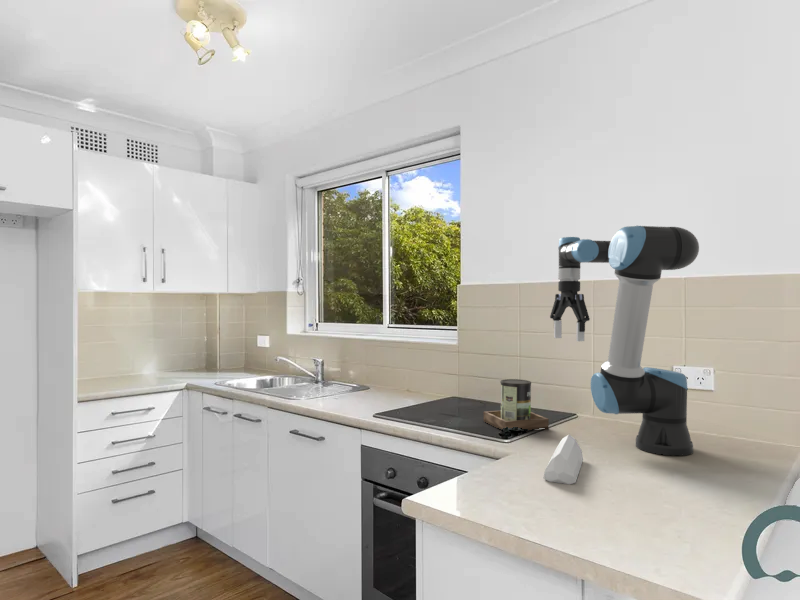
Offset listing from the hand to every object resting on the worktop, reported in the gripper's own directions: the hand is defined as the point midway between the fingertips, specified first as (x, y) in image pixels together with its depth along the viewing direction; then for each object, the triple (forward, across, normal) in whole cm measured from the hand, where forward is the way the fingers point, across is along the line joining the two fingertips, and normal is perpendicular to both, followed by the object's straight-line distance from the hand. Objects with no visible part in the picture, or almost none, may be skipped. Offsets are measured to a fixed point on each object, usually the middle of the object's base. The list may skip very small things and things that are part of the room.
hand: (568, 339), depth 195 cm
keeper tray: (+29, -3, +23) cm, 37 cm away
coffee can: (+28, -3, +23) cm, 36 cm away
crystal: (+29, -49, +35) cm, 66 cm away
